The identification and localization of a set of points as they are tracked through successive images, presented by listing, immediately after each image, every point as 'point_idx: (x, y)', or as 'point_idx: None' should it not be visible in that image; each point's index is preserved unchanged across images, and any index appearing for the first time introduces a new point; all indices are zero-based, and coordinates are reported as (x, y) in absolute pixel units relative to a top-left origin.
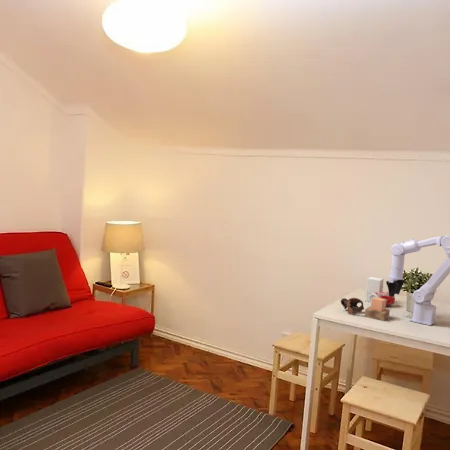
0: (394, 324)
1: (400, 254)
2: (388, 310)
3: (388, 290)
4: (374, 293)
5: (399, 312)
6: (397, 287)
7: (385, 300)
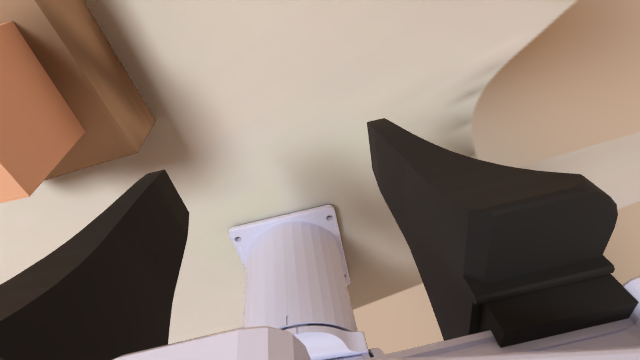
0: (51, 231)
1: None
2: (98, 162)
3: (94, 219)
4: None
5: (373, 81)
6: (406, 206)
7: (10, 195)
